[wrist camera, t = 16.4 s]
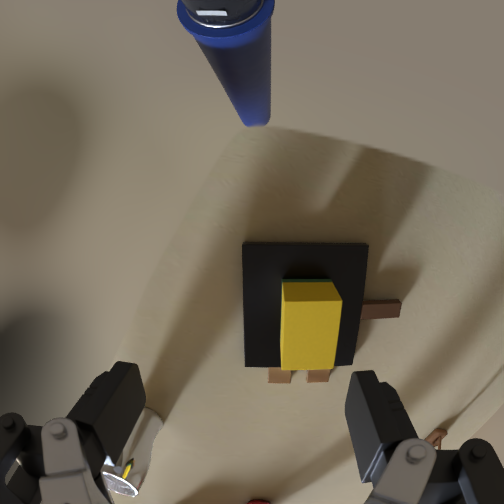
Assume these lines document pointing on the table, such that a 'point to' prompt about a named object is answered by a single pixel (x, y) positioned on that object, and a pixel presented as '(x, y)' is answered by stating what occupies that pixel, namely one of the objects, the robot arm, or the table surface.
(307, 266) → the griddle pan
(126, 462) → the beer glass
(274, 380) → the block
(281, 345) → the sponge
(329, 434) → the table surface
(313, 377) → the scrap
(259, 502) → the liquor
